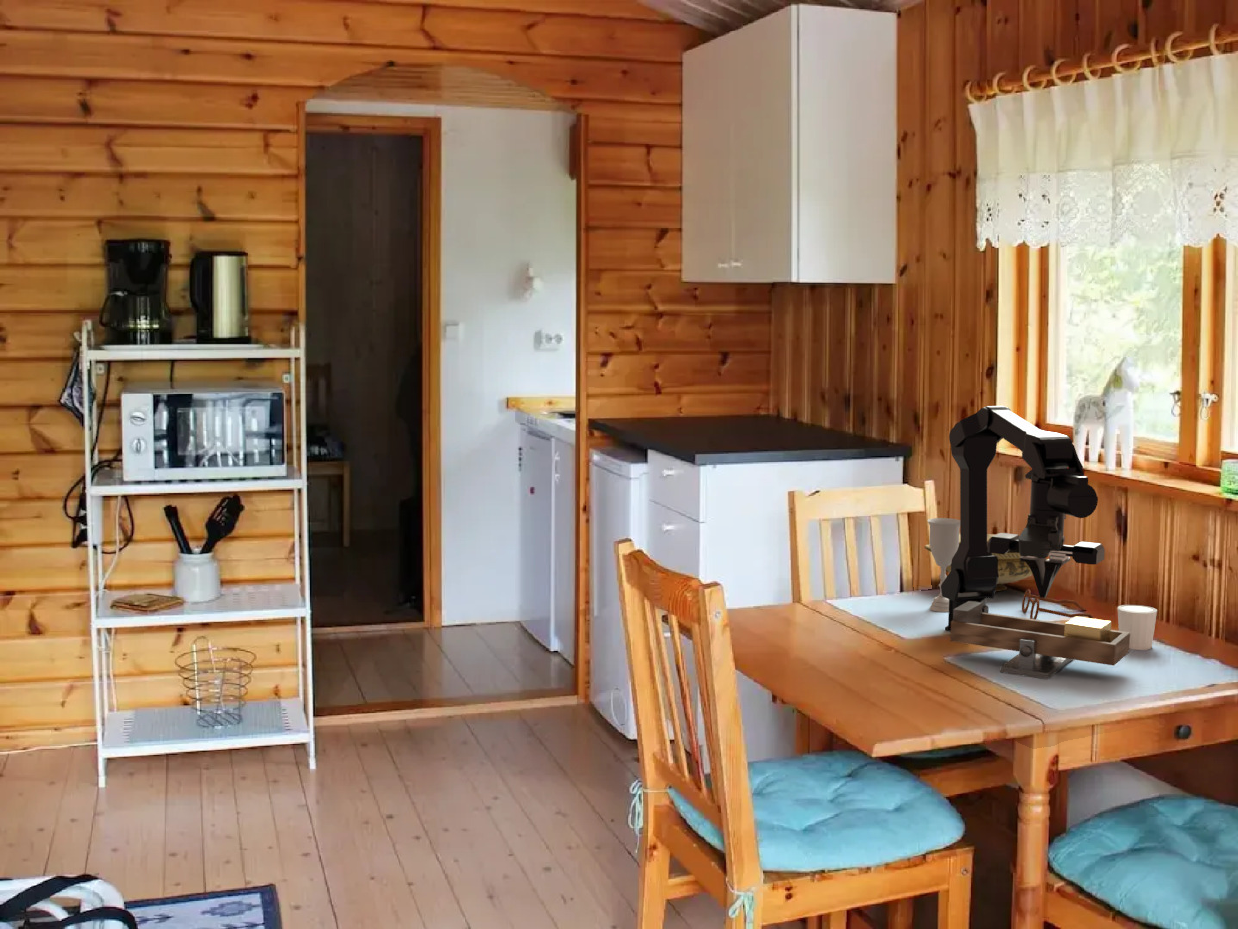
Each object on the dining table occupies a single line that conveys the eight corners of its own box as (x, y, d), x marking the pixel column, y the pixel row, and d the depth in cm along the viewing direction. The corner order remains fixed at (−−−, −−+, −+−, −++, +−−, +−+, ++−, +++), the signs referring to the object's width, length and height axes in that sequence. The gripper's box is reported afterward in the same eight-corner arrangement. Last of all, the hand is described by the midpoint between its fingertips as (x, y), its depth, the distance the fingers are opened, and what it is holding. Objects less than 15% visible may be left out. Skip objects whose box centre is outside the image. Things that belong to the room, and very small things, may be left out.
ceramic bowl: (1077, 588, 315) (1079, 542, 314) (1028, 607, 297) (1030, 559, 296) (950, 570, 335) (952, 526, 333) (897, 586, 317) (899, 541, 315)
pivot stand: (1000, 672, 249) (1001, 638, 248) (1028, 652, 262) (1030, 620, 261) (1047, 679, 245) (1048, 645, 244) (1073, 658, 258) (1075, 626, 257)
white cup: (1150, 652, 262) (1152, 614, 261) (1111, 647, 266) (1113, 609, 265) (1159, 644, 268) (1161, 607, 267) (1120, 639, 271) (1122, 602, 271)
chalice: (962, 613, 292) (965, 524, 290) (928, 613, 292) (931, 524, 290) (955, 605, 299) (957, 518, 297) (921, 604, 299) (924, 517, 297)
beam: (950, 641, 256) (951, 610, 256) (969, 629, 265) (970, 599, 264) (1113, 665, 241) (1115, 633, 241) (1128, 652, 250) (1130, 621, 249)
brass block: (1063, 646, 248) (1064, 623, 247) (1074, 639, 253) (1076, 616, 252) (1099, 651, 244) (1100, 628, 244) (1109, 644, 249) (1111, 621, 249)
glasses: (1020, 611, 296) (1021, 586, 295) (1086, 612, 295) (1087, 588, 294) (1033, 626, 283) (1034, 601, 282) (1102, 628, 282) (1103, 602, 281)
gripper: (978, 509, 249) (974, 599, 251) (1089, 520, 239) (1084, 614, 241) (999, 500, 259) (996, 587, 261) (1107, 511, 249) (1102, 601, 251)
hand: (1043, 597), depth 253 cm, fingers closed
